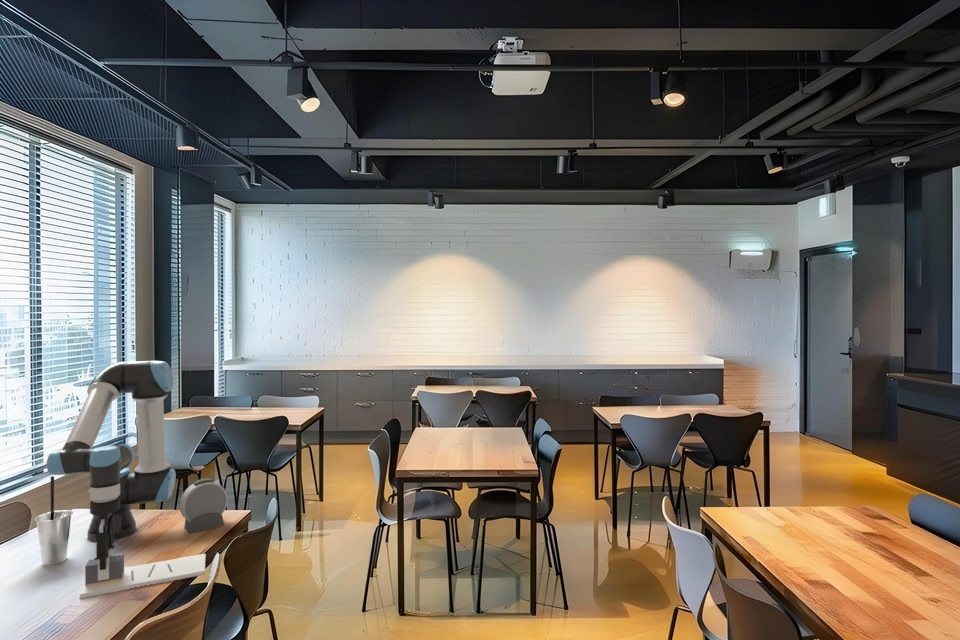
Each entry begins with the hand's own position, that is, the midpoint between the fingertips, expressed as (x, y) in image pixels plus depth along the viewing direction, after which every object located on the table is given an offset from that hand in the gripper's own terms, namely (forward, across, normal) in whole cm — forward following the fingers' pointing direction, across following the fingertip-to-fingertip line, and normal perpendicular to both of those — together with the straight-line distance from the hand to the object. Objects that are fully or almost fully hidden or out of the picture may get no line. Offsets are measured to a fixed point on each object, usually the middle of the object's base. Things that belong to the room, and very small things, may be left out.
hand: (105, 575), depth 164 cm
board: (+3, 0, +11) cm, 11 cm away
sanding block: (+1, 0, 0) cm, 1 cm away
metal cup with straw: (+3, -26, -18) cm, 32 cm away
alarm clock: (+3, -38, +26) cm, 46 cm away
